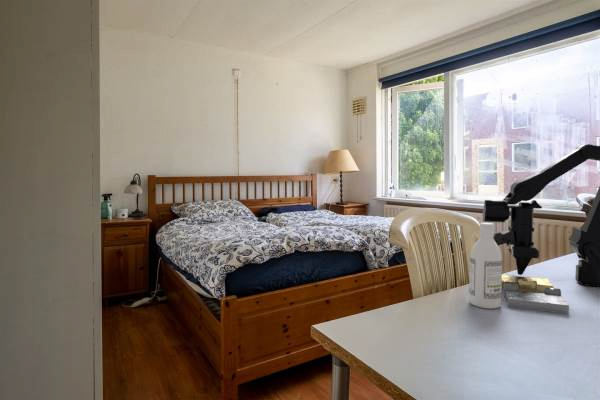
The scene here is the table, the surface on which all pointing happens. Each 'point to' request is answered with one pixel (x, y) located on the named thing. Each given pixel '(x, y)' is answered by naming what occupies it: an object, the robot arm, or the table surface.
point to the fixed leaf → (536, 299)
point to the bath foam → (485, 270)
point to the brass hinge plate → (527, 283)
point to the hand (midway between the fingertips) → (519, 274)
